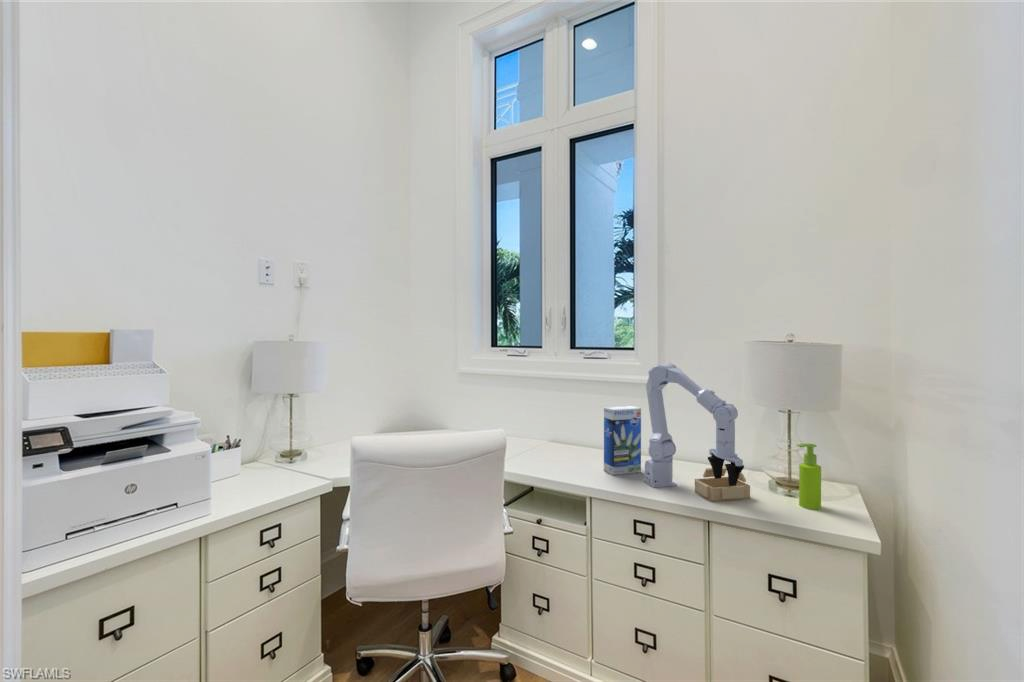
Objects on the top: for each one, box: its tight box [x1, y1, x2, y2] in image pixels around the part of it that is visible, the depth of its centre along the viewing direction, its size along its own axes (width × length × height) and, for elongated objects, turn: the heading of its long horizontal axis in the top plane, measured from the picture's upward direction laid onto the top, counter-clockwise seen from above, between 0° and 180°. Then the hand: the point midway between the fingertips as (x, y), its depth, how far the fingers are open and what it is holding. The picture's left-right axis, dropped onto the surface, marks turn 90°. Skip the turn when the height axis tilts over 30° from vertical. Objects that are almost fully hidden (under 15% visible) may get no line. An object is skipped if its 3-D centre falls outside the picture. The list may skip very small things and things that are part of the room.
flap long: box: [702, 466, 727, 478], centre depth 161 cm, size 8×1×4 cm
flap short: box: [738, 471, 747, 483], centre depth 158 cm, size 1×7×4 cm, turn 11°
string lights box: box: [603, 405, 642, 476], centre depth 185 cm, size 13×8×26 cm, turn 109°
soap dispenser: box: [796, 442, 822, 511], centre depth 147 cm, size 6×7×20 cm
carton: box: [694, 476, 751, 503], centre depth 156 cm, size 15×11×5 cm
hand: (725, 481), depth 153 cm, fingers open, 7 cm apart
